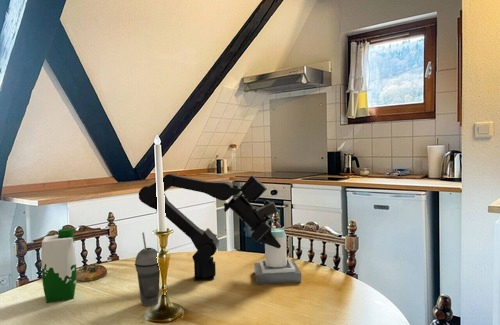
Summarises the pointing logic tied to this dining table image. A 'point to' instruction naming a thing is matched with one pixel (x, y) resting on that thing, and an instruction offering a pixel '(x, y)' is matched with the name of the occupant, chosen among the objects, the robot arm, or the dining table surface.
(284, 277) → the grey rectangular tray
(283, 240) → the can
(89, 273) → the bread roll
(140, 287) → the beverage cup
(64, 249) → the milk carton
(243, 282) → the dining table surface
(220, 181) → the robot arm
